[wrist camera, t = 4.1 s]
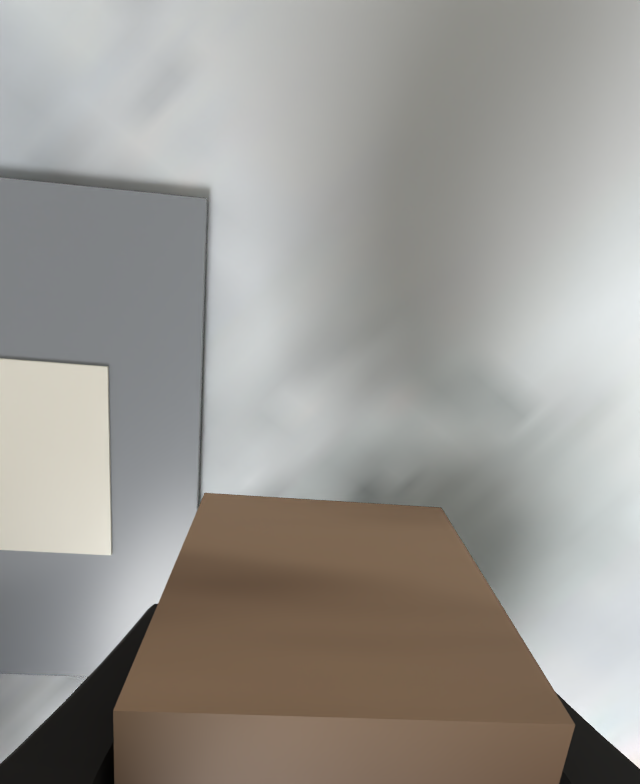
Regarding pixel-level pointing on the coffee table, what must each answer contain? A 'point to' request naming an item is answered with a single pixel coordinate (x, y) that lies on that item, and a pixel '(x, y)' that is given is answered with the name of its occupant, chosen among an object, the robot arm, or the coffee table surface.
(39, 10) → the coffee table surface
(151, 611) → the robot arm
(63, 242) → the board
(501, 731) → the walnut block
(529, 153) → the coffee table surface
